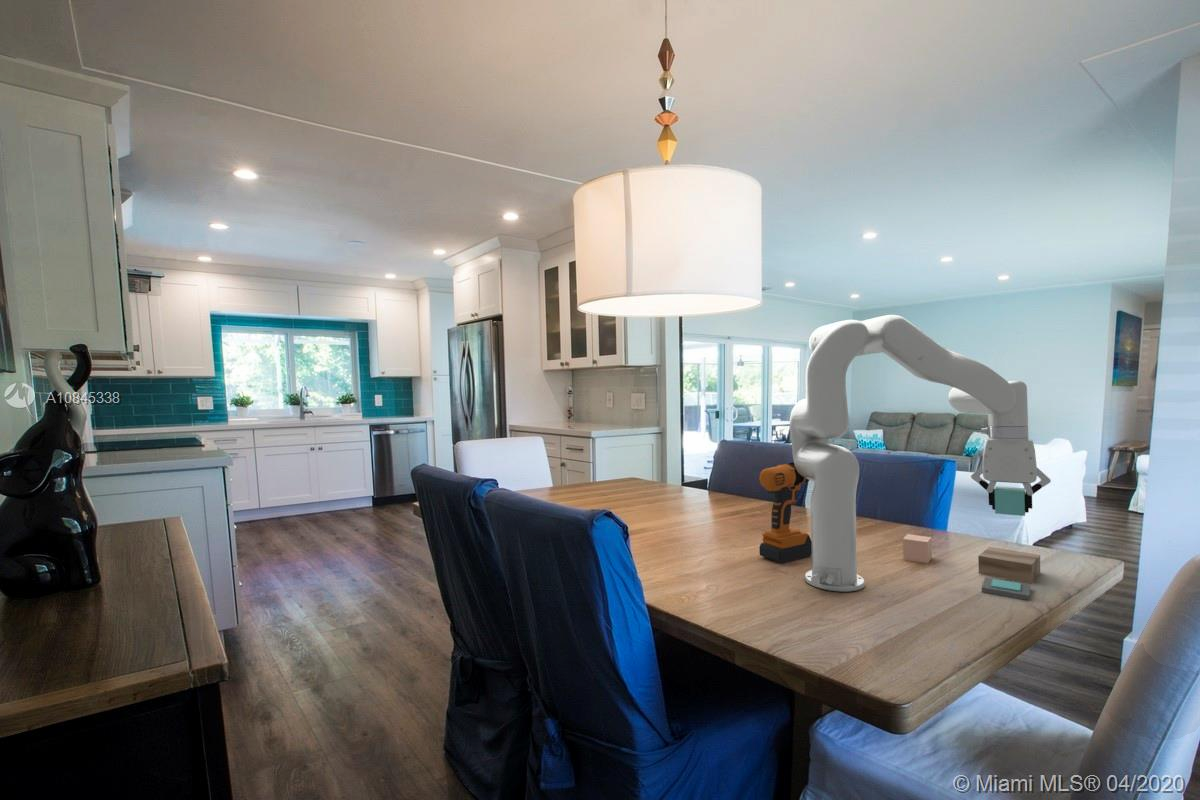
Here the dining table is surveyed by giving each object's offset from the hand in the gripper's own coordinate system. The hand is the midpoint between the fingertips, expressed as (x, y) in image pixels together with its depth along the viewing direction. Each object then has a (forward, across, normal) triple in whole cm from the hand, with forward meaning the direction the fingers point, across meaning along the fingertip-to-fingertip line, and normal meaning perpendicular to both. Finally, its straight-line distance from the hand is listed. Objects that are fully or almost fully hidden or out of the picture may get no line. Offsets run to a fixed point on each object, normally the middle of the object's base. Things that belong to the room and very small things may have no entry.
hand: (1010, 509), depth 129 cm
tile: (+15, 0, -14) cm, 21 cm away
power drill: (+14, -46, -16) cm, 51 cm away
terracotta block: (+15, -20, 0) cm, 25 cm away
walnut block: (+15, 0, 0) cm, 15 cm away
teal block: (+1, 0, 0) cm, 1 cm away
